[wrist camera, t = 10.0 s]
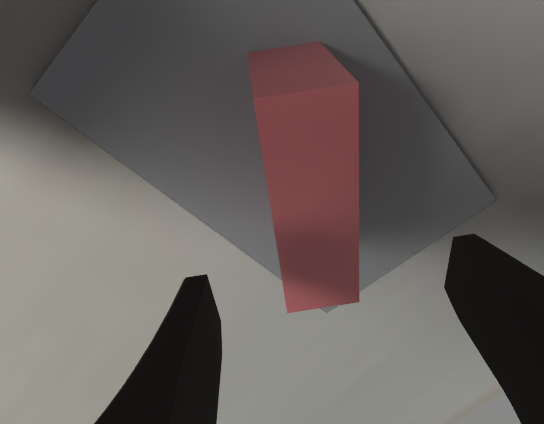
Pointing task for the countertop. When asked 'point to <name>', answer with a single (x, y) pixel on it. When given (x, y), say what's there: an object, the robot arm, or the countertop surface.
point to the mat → (242, 118)
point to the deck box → (310, 170)
